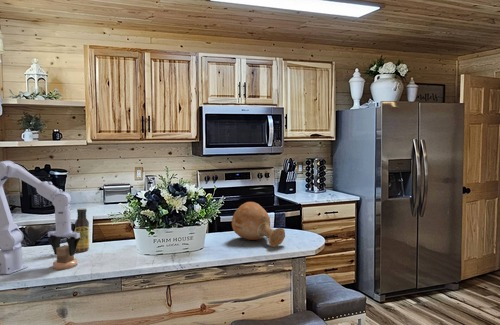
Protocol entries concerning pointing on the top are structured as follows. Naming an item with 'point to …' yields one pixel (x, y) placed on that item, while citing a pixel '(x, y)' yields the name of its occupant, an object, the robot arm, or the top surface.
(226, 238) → the top surface
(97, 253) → the top surface
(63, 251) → the walnut block
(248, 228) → the jug
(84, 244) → the sauce bottle
